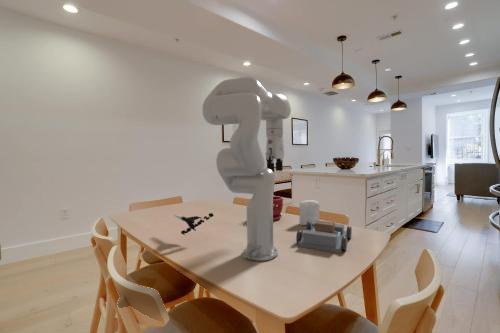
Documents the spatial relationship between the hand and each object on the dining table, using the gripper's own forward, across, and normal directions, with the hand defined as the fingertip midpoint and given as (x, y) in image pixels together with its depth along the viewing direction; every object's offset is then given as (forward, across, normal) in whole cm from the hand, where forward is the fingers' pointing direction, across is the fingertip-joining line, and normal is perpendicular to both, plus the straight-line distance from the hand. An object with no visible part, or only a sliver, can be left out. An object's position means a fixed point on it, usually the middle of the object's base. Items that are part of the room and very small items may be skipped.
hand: (275, 171), depth 111 cm
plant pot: (+29, +22, +12) cm, 38 cm away
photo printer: (+29, +20, -10) cm, 36 cm away
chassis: (+28, 0, -22) cm, 36 cm away
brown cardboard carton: (+27, 0, -22) cm, 35 cm away
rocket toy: (+29, -24, +33) cm, 50 cm away
